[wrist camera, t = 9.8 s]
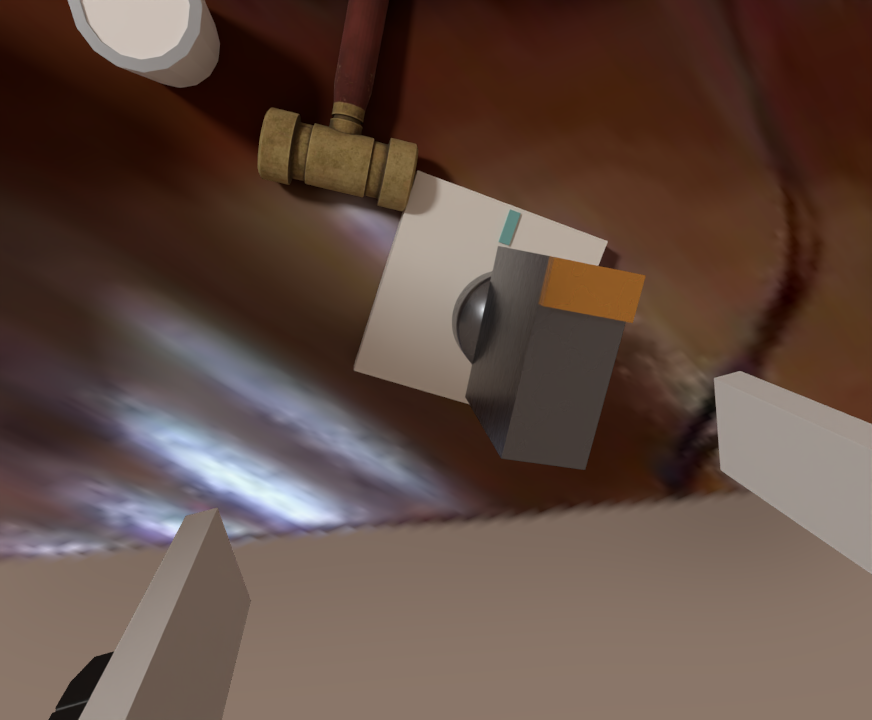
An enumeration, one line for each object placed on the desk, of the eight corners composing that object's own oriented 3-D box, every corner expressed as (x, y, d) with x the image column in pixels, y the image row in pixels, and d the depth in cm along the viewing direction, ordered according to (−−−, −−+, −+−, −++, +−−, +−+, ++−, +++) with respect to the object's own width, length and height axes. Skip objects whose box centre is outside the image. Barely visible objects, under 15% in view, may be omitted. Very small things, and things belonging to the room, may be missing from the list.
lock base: (354, 363, 44) (352, 394, 36) (415, 172, 41) (427, 161, 33) (529, 415, 47) (562, 454, 39) (596, 240, 44) (647, 245, 36)
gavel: (312, -195, 33) (477, -137, 34) (317, -141, 37) (463, -92, 39) (253, 172, 36) (407, 209, 37) (264, 182, 40) (401, 214, 42)
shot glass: (198, -35, 36) (162, -93, 30) (248, 74, 38) (224, 44, 31) (98, 6, 36) (39, -43, 29) (153, 114, 38) (109, 91, 31)
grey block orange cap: (532, 394, 37) (615, 479, 25) (438, 380, 36) (478, 460, 24) (565, 259, 36) (672, 280, 23) (467, 239, 34) (526, 251, 22)
